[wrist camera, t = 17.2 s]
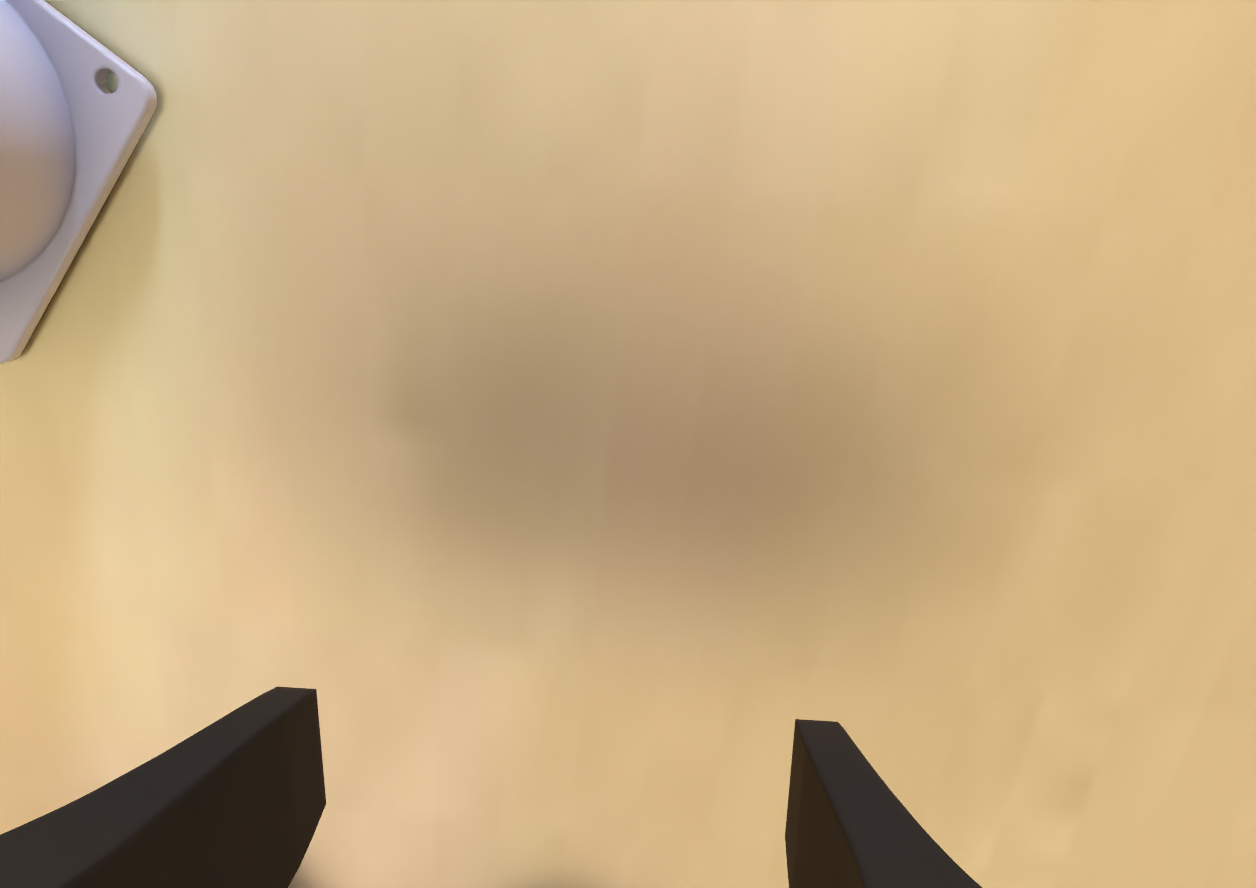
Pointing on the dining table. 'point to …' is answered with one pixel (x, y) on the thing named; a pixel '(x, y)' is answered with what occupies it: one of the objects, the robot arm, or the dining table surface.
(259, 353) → the dining table surface
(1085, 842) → the dining table surface
